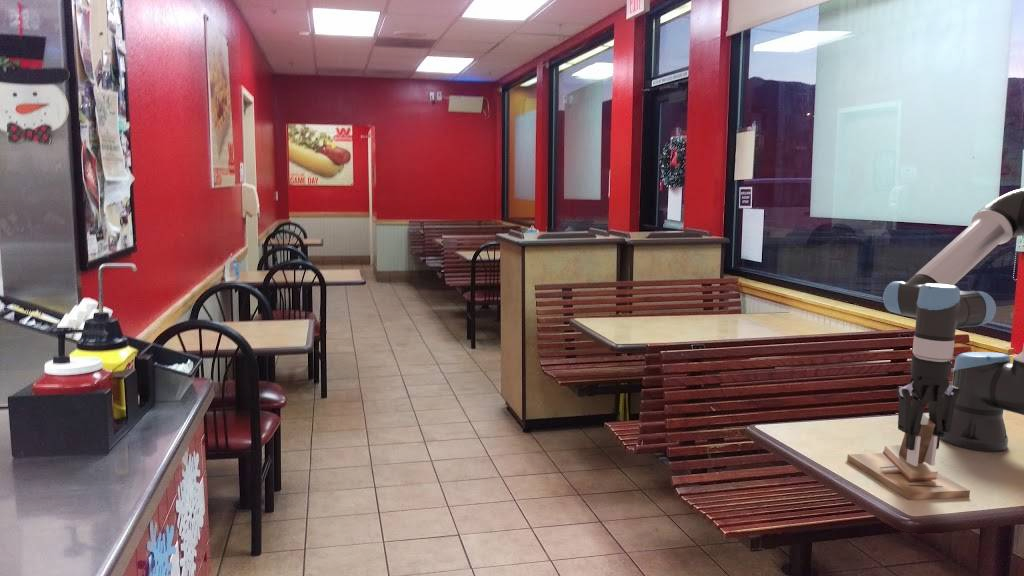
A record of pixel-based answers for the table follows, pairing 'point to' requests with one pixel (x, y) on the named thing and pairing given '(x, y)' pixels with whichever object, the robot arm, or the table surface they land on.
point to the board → (906, 479)
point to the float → (923, 470)
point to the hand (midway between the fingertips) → (920, 463)
